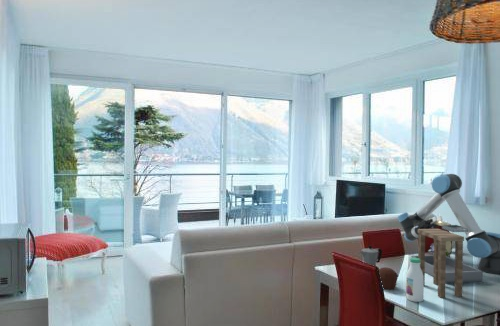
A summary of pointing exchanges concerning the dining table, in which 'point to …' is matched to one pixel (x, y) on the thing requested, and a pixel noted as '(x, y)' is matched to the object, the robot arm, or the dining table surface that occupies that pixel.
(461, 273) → the stool
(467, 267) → the tray
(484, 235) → the robot arm
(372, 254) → the coffeepot
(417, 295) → the milk bottle
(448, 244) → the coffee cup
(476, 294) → the dining table surface
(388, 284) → the muffin
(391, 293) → the dining table surface
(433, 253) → the passion flower
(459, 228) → the hand shovel
